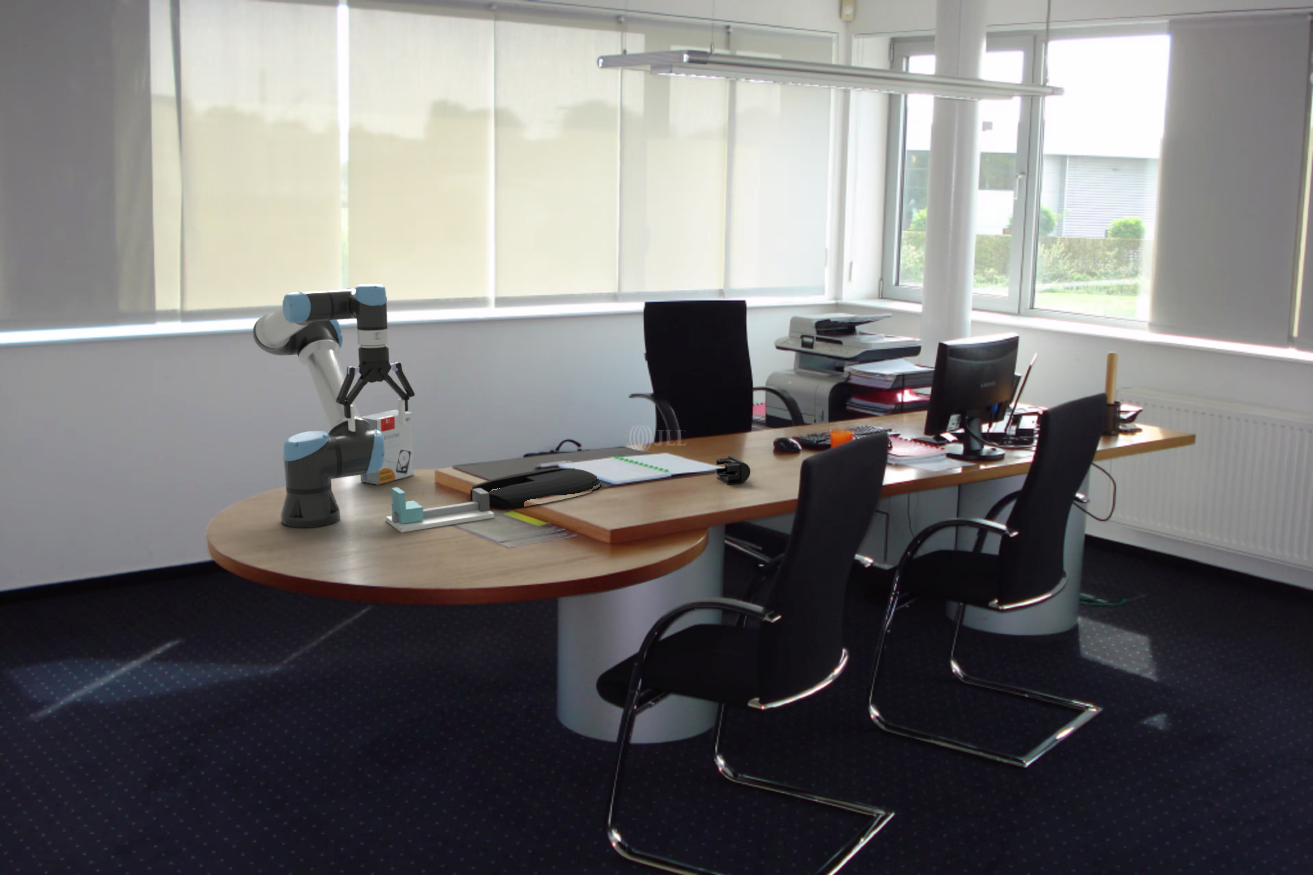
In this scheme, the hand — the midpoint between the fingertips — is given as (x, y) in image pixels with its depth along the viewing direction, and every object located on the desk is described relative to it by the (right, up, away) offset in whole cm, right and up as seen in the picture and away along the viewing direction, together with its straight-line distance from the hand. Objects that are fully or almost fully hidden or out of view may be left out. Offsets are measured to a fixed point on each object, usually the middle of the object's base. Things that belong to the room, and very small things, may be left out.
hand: (377, 427), depth 305 cm
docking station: (+38, -19, +41) cm, 59 cm away
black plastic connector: (+95, -16, +53) cm, 110 cm away
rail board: (+14, -24, +13) cm, 31 cm away
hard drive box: (-10, -15, +55) cm, 58 cm away
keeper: (+6, -24, +8) cm, 26 cm away
